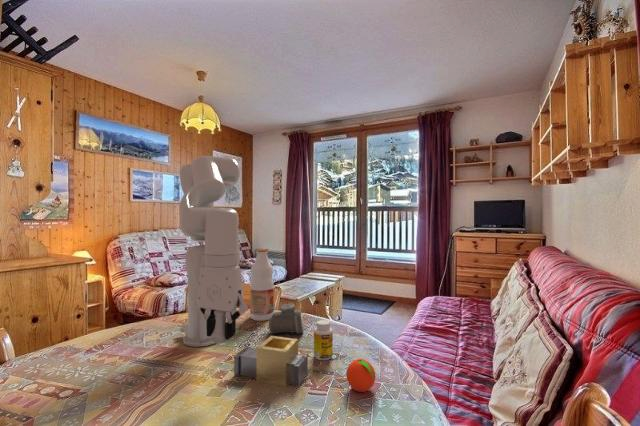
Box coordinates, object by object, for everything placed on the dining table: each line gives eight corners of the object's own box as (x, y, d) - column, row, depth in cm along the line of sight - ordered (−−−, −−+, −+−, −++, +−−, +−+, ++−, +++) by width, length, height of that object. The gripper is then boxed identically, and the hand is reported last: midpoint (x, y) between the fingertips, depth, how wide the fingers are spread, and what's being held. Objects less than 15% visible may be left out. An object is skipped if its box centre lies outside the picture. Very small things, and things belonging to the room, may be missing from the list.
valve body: (232, 377, 80) (232, 344, 80) (248, 362, 88) (248, 332, 88) (297, 388, 75) (297, 353, 75) (308, 372, 83) (308, 340, 83)
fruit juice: (247, 315, 129) (247, 248, 129) (269, 312, 133) (269, 246, 133) (254, 322, 120) (253, 250, 121) (277, 319, 125) (277, 249, 125)
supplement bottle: (320, 363, 88) (320, 326, 88) (310, 355, 93) (310, 321, 93) (336, 358, 91) (336, 323, 91) (325, 351, 96) (325, 317, 96)
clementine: (384, 394, 73) (384, 363, 73) (362, 404, 69) (362, 371, 69) (362, 379, 79) (362, 351, 79) (340, 387, 76) (340, 357, 76)
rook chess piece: (213, 336, 77) (213, 304, 77) (232, 335, 78) (232, 304, 77) (208, 344, 73) (209, 310, 73) (228, 344, 73) (228, 310, 73)
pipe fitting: (304, 326, 115) (301, 299, 114) (304, 337, 107) (300, 308, 106) (272, 330, 115) (268, 303, 114) (269, 341, 107) (265, 312, 106)
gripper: (181, 260, 74) (181, 336, 74) (244, 266, 68) (243, 348, 69) (202, 255, 81) (202, 325, 81) (260, 260, 76) (259, 334, 76)
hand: (220, 334), depth 75 cm, fingers closed on rook chess piece, 4 cm apart
